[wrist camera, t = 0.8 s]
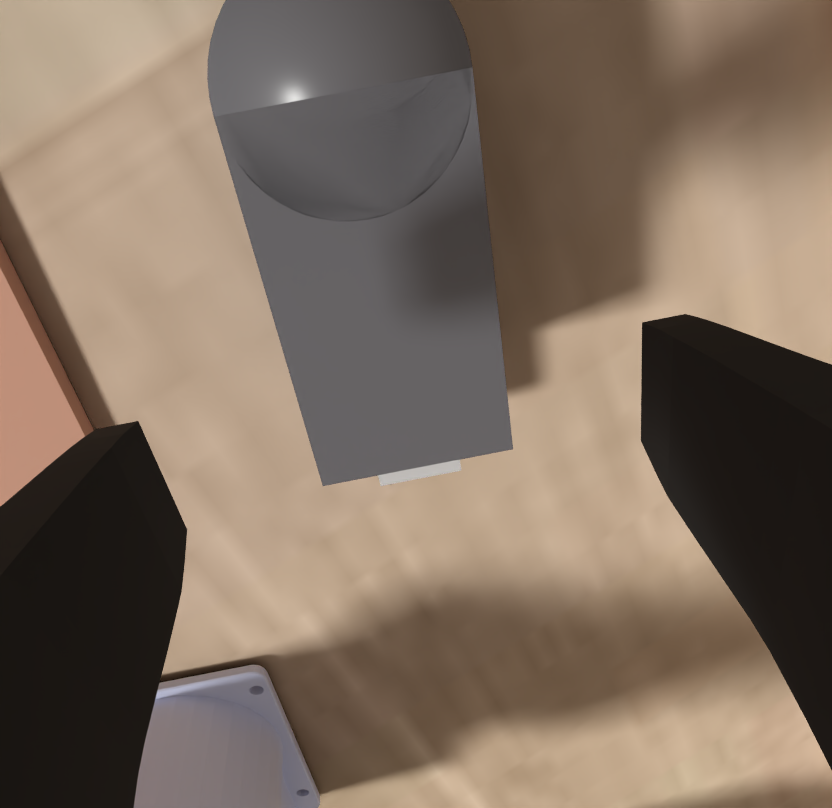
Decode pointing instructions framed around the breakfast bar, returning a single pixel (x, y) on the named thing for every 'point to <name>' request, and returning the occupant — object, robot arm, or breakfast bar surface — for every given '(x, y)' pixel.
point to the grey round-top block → (368, 225)
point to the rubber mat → (31, 391)
